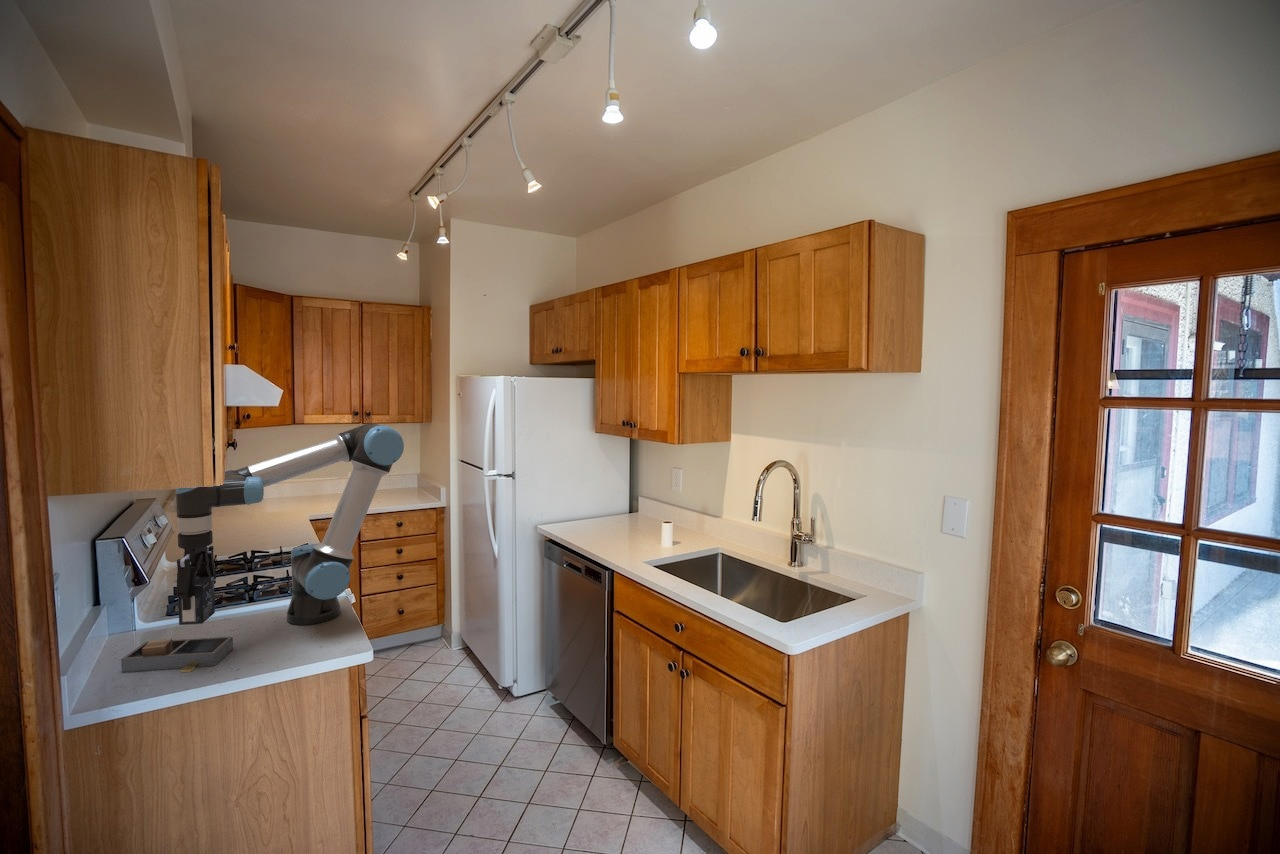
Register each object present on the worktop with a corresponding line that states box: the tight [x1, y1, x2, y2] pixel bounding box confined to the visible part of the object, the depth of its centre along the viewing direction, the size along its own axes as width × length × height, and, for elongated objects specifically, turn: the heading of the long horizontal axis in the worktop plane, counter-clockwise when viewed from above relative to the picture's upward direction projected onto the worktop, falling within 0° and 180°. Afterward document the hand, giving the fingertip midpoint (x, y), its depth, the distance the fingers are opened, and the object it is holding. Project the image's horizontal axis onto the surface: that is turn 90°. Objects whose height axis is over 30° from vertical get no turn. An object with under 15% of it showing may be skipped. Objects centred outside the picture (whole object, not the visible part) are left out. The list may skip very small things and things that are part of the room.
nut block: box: [142, 638, 173, 656], centre depth 165 cm, size 5×5×5 cm
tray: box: [120, 636, 234, 673], centre depth 165 cm, size 13×22×4 cm, turn 100°
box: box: [178, 576, 216, 626], centre depth 166 cm, size 8×6×11 cm
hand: (197, 614), depth 166 cm, fingers closed on box, 8 cm apart
